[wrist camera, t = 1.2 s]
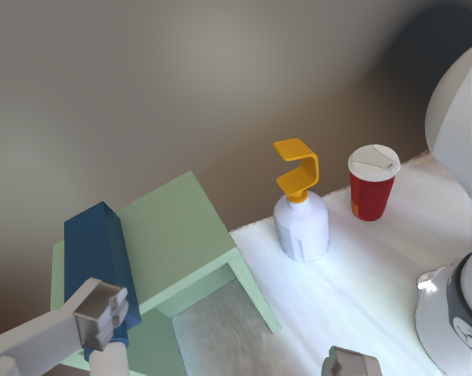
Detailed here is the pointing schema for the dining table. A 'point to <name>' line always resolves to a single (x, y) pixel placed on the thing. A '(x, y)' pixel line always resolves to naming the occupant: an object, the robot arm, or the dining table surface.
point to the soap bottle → (300, 205)
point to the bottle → (101, 278)
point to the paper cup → (372, 180)
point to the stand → (169, 271)
